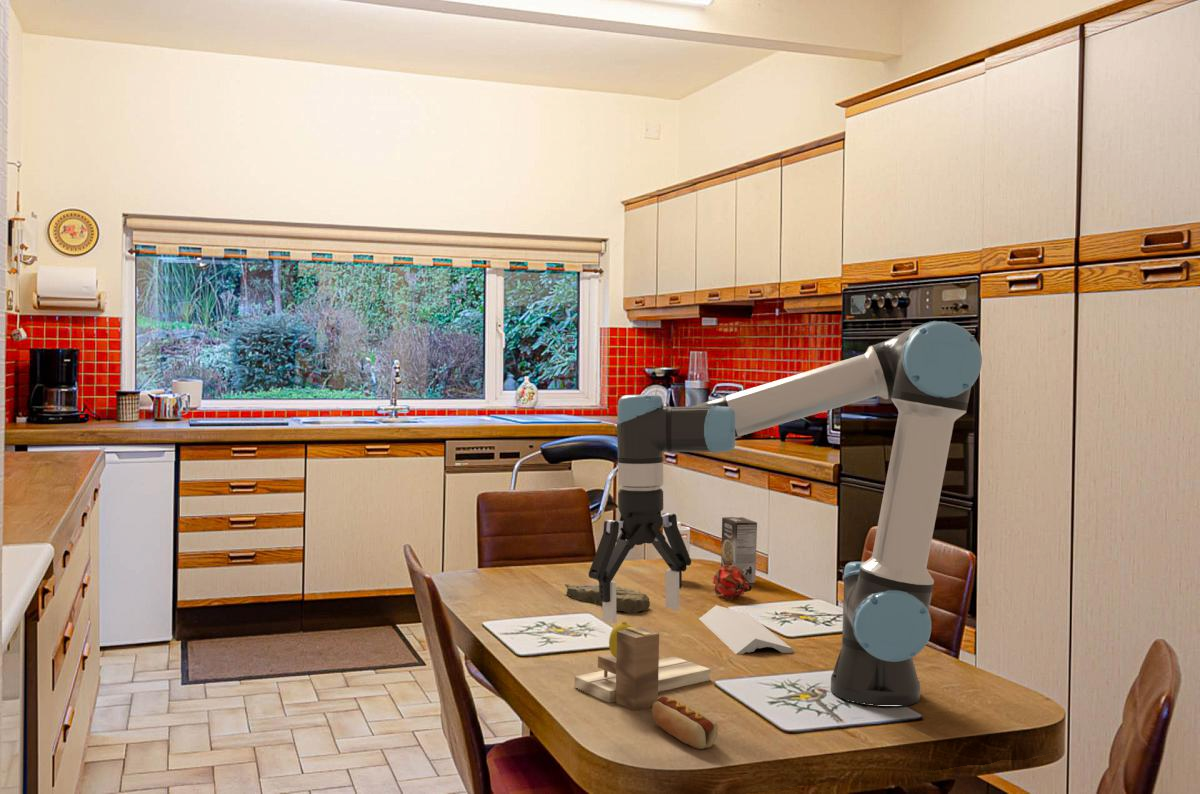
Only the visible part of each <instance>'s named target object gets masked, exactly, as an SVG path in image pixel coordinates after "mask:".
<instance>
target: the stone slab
mask: <svg viewBox="0 0 1200 794" xmlns="http://www.w3.org/2000/svg"><path fill="white" fill-rule="evenodd" d="M564 586H565V587H566V589H567V590H566V596H568V597H571V598H572V597H573V598H572V599H574V598H575V599H574V600H580V601H582V602H586V601H587V602H589V603H594V604H596V603H599V604H598V605H600V604H601V606H603V602H602V601H600V599H599V585H598V584H597V585H596V584H594V585H582V584H579V585H570V584H569V583H564ZM650 604H651V603H650V597H649V596H648V595H647V594H645V593H644V592H641V591H635V590H633V589H629V588H626V587H620V586H616V612H617V611H618V612H624V613H628V614H637V613H639V612H640V611H642V612H646V611H648V610H649V609H650V606H651V605H650ZM645 610H646V611H645Z"/></svg>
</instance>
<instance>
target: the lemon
mask: <svg viewBox="0 0 1200 794" xmlns="http://www.w3.org/2000/svg"><path fill="white" fill-rule="evenodd" d="M628 627H633V628H635V627H634V626H632V625H631V624H630V623H628V622H626V621H624V620H623V621H621V622H620V623H618V624H616V625H615V626H614V627H613V628H612V630H611V631H610V633H609V634H610V635H609V637H608V639H609V641H608V646H609V651H610V654H611V656H613V657H616V656H617V631H622V630H625V628H628Z"/></svg>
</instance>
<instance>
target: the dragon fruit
mask: <svg viewBox="0 0 1200 794" xmlns="http://www.w3.org/2000/svg"><path fill="white" fill-rule="evenodd" d="M743 573H744V572H743V570H741V569H738V568H737V567H735V566H732V565H724V566H722V567H720V568H719V569H718V570H717V571H716V573H715V574H714V576H713V581H712V584H714V591H715V594H716V595H717V596H718V595H722V597H724V598H725V599H726V600H729V601H732V600H733V601H734V600H735V598H740V597H743V595H745V593H748V592H751V591H752V589H753V585H752V584H750V583H749V581H747V578H746V576H745V575H744V574H743ZM746 581H747V582H748V583H746Z"/></svg>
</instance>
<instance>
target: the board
mask: <svg viewBox="0 0 1200 794" xmlns="http://www.w3.org/2000/svg"><path fill="white" fill-rule="evenodd" d="M711 672H712V671H711V668H708V667H706V666H702V665H699V664H697V663H694V662H692V661H689V660H685V659H683V658H680V657H677V656H669V657H663V658H659V669H658V693H660V692H665V691H669V690H673V689H678V688H681V687H687V686H690V685H694V684H699V683H703V682H709V681H711V674H712V673H711ZM576 688H578V689H577V690H579V689H580V690H579V691H581V690H582V692H583V691H584V693H586V694H589V695H590V696H593V697H595V698H597V699H600V700H602V701H604V702H606V703H609V704H610V703H616V674H613V673H611V672H608V676H607V678H605V677H604V670H603V669H602V670H599V671H595V672H589V673H584V674H579V675H574V689H576Z"/></svg>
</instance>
